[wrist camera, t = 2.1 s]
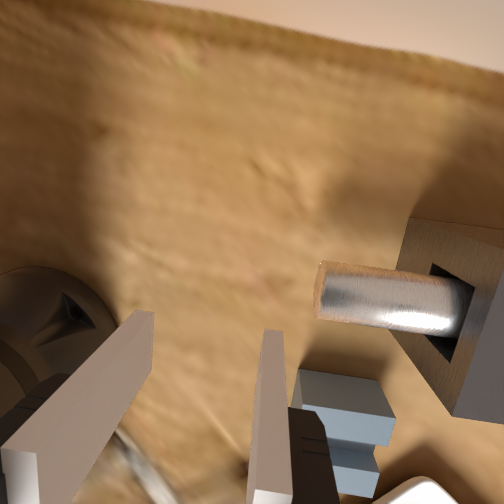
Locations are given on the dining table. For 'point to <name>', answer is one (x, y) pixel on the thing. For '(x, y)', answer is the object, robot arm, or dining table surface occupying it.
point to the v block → (348, 424)
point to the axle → (391, 299)
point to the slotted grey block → (476, 322)
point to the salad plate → (417, 493)
